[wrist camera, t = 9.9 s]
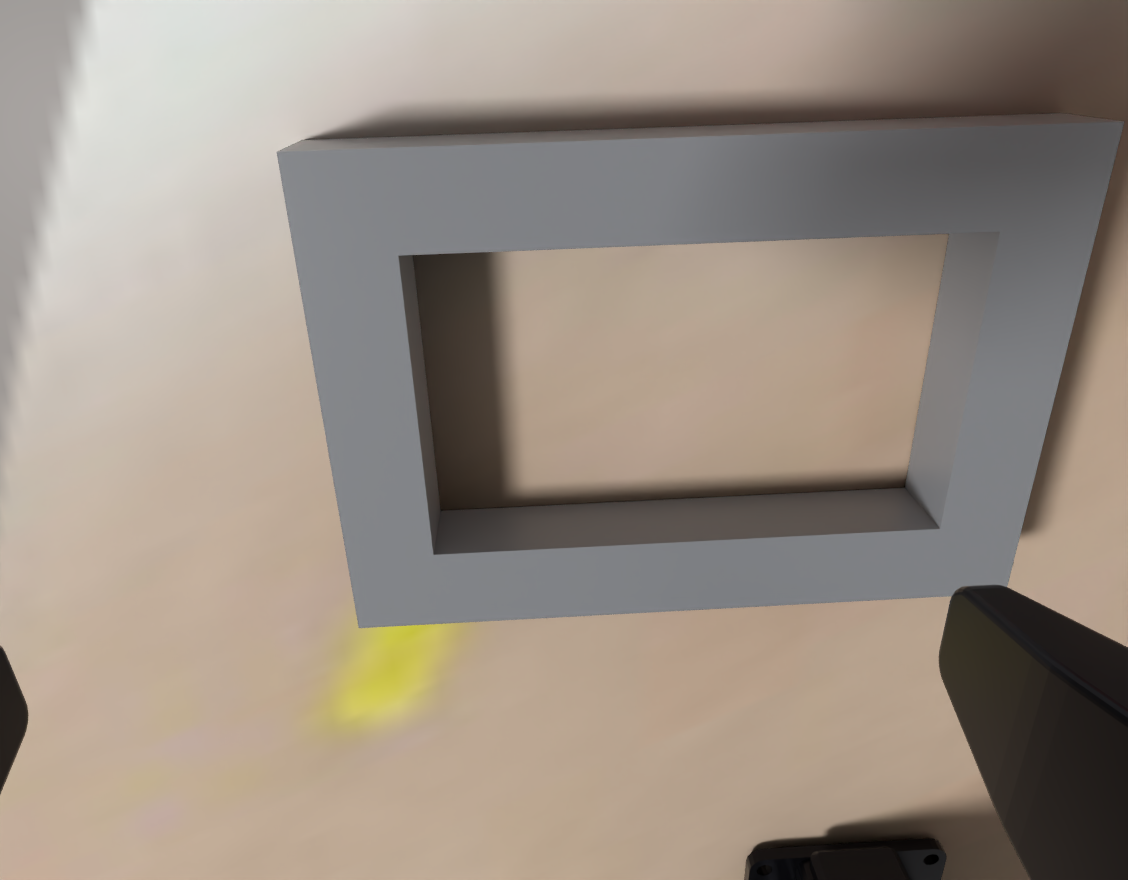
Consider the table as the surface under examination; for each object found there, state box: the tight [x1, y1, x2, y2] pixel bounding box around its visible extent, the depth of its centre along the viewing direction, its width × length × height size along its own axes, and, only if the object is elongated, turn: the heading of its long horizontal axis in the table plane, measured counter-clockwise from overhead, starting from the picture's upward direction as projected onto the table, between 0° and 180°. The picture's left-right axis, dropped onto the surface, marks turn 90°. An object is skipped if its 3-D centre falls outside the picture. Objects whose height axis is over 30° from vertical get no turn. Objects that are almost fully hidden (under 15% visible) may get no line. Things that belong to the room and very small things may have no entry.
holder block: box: [277, 113, 1124, 628], centre depth 19 cm, size 11×16×2 cm
